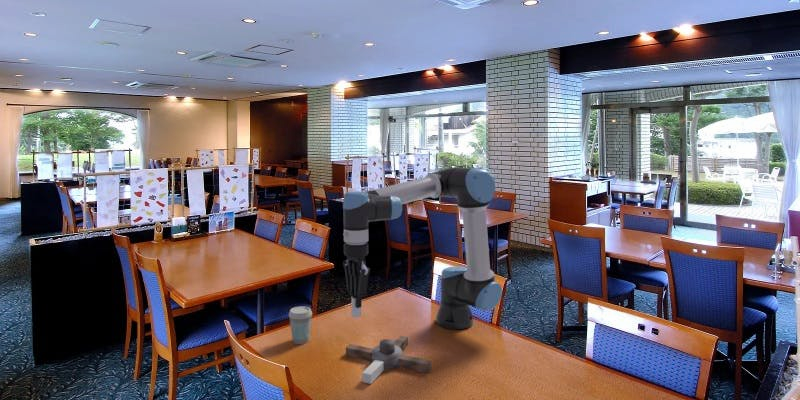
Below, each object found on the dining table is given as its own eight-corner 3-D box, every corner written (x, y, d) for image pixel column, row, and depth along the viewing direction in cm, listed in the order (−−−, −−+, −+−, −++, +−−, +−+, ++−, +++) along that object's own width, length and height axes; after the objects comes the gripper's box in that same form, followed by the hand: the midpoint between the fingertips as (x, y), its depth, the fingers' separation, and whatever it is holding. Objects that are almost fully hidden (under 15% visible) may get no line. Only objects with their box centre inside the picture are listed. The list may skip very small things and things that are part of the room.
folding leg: (375, 368, 146) (375, 359, 146) (383, 370, 145) (383, 361, 145) (362, 381, 138) (362, 372, 138) (371, 383, 137) (371, 374, 137)
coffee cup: (307, 347, 162) (306, 315, 161) (285, 344, 164) (284, 313, 162) (316, 337, 170) (315, 306, 169) (295, 335, 172) (294, 304, 171)
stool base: (405, 342, 166) (405, 324, 166) (433, 372, 145) (434, 351, 144) (344, 353, 158) (344, 334, 157) (364, 386, 136) (364, 364, 135)
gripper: (335, 239, 141) (336, 312, 144) (356, 248, 130) (356, 326, 133) (356, 237, 145) (356, 307, 148) (377, 244, 135) (377, 320, 137)
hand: (356, 316), depth 141 cm, fingers closed
